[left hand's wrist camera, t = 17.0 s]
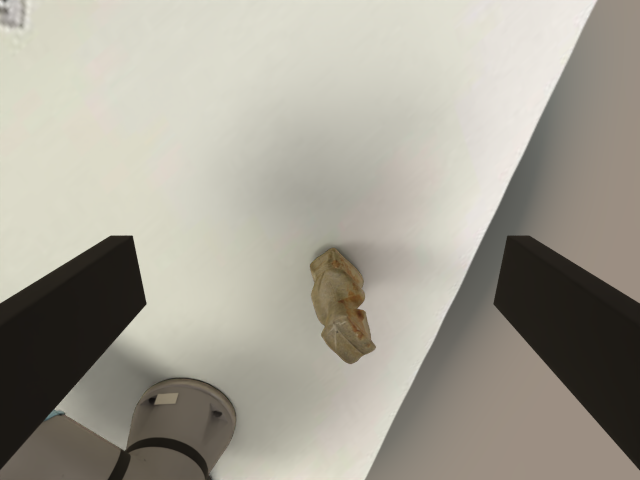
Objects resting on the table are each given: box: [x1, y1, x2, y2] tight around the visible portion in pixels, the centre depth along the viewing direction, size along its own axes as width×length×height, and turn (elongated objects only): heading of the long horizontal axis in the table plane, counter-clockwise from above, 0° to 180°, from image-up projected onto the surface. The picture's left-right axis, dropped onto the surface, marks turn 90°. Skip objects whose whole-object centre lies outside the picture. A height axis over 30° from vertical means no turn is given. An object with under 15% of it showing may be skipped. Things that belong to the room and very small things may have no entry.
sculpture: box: [310, 248, 376, 364], centre depth 39 cm, size 6×7×15 cm
